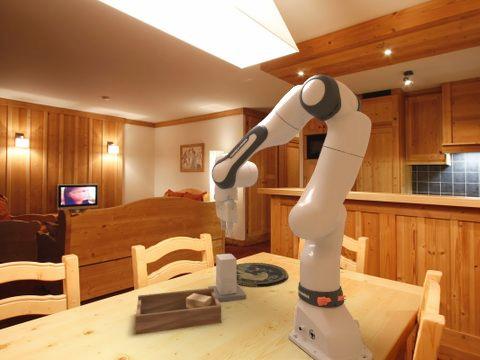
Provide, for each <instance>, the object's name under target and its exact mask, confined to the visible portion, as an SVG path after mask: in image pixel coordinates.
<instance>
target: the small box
mask: <svg viewBox="0 0 480 360" xmlns="http://www.w3.org/2000/svg"><path fill="white" fill-rule="evenodd" d="M215 259H216V260H215V261H216V263H215V264H216V265H215V266H216V267H215V272H216V273H215V274H216V275H215V279H216V281H215V286H216V288H217V290H218V291H219V293H220V295H225V294H233V293H237V264H238V263H237V257H235V256H234V255H233V254H232V253H221V254H216V256H215Z"/></svg>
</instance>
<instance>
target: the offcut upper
mask: <svg viewBox="0 0 480 360" xmlns="http://www.w3.org/2000/svg"><path fill="white" fill-rule="evenodd" d="M206 306H212V297H210V296H205V295H200V294H195V293H193V294H192V295H190V296H189V297H187V298H186V308H198V307H206Z"/></svg>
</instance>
